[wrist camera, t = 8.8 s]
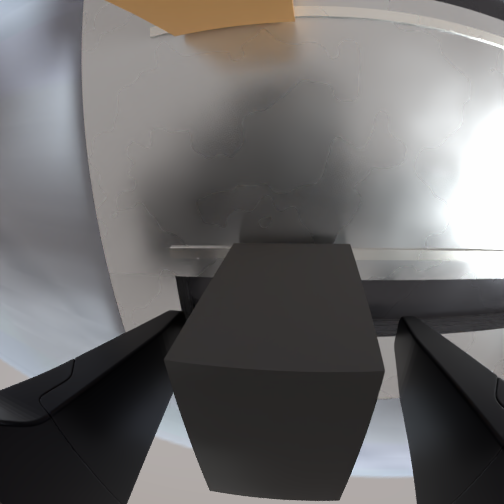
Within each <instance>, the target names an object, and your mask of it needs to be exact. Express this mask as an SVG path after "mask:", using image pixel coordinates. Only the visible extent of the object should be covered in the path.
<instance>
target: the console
mask: <svg viewBox="0 0 504 504" xmlns="http://www.w3.org/2000/svg"><path fill="white" fill-rule="evenodd" d="M293 5H294V15H295V22H277V23H262V24H251V25H241V26H233V27H225V28H218V29H212V30H206V31H200V32H194V33H189V34H184V35H179V36H173V35H172V34H170V33H168V32H166V31H164V30H163V29H161V28H159V27H157V26H155V25H153V24H152V23H150V22H148V21H146V20H144V19H142V18H140V17H138V16H136V15H134V14H132V13H130V12H128V11H126V10H124V9H122V8H120V7H118V6H116V5H114V4H112V3H109V2H107V1H105V0H84V3H83V19H82V56H81V59H82V97H83V114H84V127H85V137H86V147H87V156H88V164H89V172H90V179H91V186H92V192H93V198H94V204H95V210H96V216H97V221H98V226H99V231H100V236H101V241H102V246H103V250H104V255H105V259H106V263H107V267H108V272H109V276H110V280H111V284H112V287H113V291H114V295H115V299H116V302H117V306H118V309H119V313H120V316H121V319H122V323H123V326H124V329H125V333H126V332H128V331H130V330H132V329H134V328H136V327H138V326H139V325H141V324H143V323H145V322H147V321H149V320H151V319H153V318H155V317H157V316H159V315H161V314H163V313H165V312H167V311H169V310H177V311H182V312H184V314H185V317H186V321H187V320H188V318H189V316H190V314H191V313H192V311H193V309H194V308H195V306H196V304H197V303H198V301H199V299H200V298H201V296H202V294H203V293H204V291H205V289H206V288H207V286H208V285H209V283H210V281H211V280H212V278H213V276H214V275H215V273H216V271H217V270H218V268H219V266H220V265H221V263H222V261H223V260H224V258H225V257H226V255H227V253H228V252H229V250H230V248H231V247H232V245H233V243H305V244H350V245H351V248H352V251H353V255H354V258H355V261H356V264H357V267H358V271H359V274H360V277H361V280H362V284H363V287H364V291H365V294H366V298H367V301H368V305H369V308H370V312H371V316H372V319H373V323H374V327H375V331H376V335H377V339H378V343H379V347H380V351H381V355H382V359H383V363H384V368H385V374H384V377H383V381H382V385H381V388H380V391H379V395H378V398H377V399H392V398H400V396H399V389H398V379H397V369H396V360H395V352H394V341H395V336H396V332H397V327H398V323H399V320H400V318H401V317H402V316H415V317H417V318H418V319H420V320H421V321H423V322H424V323H425V324H427V325H428V326H430V327H431V328H433V329H434V330H435V331H437V332H438V333H440V334H441V335H442V336H444V337H445V338H447V339H448V340H449V341H451V342H452V343H454V344H455V345H456V346H458V347H459V348H461V349H462V350H463V351H465V352H466V353H468V354H469V355H470V356H472V357H473V358H474V359H476V360H477V361H478V362H480V363H481V364H483V365H484V366H485V367H487V368H488V369H489V370H491V371H492V372H493V373H495V374H496V375H497V376H498V377H500V378H501V379H503V380H504V0H293Z"/></svg>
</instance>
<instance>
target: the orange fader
mask: <svg viewBox="0 0 504 504" xmlns="http://www.w3.org/2000/svg"><path fill="white" fill-rule="evenodd" d="M105 1H107V2H109V3H112V4H114V5H116V6H118V7H120V8H122V9H124V10H126V11H128V12H130V13H132V14H134V15H136V16H138V17H140V18H142V19H144V20H146V21H148V22H150V23H152V24H153V25H155V26H157V27H159V28H161V29H163V30H164V31H166V32H168V33H170V34H172V35H173V36H179V35H184V34H189V33H194V32H200V31H206V30H212V29H218V28H225V27H233V26H241V25H251V24H262V23H277V22H295V15H294V5H293V0H105Z"/></svg>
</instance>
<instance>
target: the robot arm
mask: <svg viewBox="0 0 504 504" xmlns="http://www.w3.org/2000/svg"><path fill="white" fill-rule="evenodd" d="M185 323H186V317H185V314H184V312H182V311H177V310H169V311H167V312H165V313H163V314H161V315H159V316H157V317H155V318H153V319H151V320H149V321H147V322H145V323H143V324H141V325H139V326H138V327H136V328H134V329H132V330H130V331H128V332H126V333H124V334H122V335H120V336H118V337H116V338H114V339H112V340H110V341H108V342H106V343H104V344H102V345H100V346H98V347H96V348H94V349H92V350H90V351H88V352H86V353H84V354H82V355H80V356H78V357H76V358H75V359H72V360H70V361H68V362H66V363H64V364H62V365H60V366H58V367H56V368H54V369H51V370H49V371H47V372H45V373H42V374H40V375H38V376H35V377H33V378H30V379H28V380H25V381H23V382H20V383H18V384H15V385H13V386H10V387H8V388H5V389H2V390H0V504H127V502H128V500H129V497H130V495H131V492H132V490H133V487H134V485H135V482H136V480H137V478H138V475H139V473H140V470H141V468H142V465H143V463H144V461H145V458H146V456H147V453H148V451H149V449H150V446H151V444H152V441H153V439H154V437H155V434H156V432H157V429H158V427H159V425H160V422H161V420H162V417H163V415H164V413H165V410H166V408H167V406H168V403H169V401H170V399H171V396H172V394H173V389H172V386H171V382H170V379H169V376H168V372H167V369H166V366H165V362H164V358H165V357H166V355H167V353H168V352H169V350H170V348H171V347H172V345H173V343H174V341H175V340H176V338H177V336H178V335H179V333H180V331H181V330H182V328H183V326H184V325H185ZM394 352H395V360H396V369H397V379H398V389H399V396H400V402H401V407H402V412H403V416H404V422H405V427H406V432H407V438H408V443H409V449H410V455H411V462H412V469H413V476H414V483H415V490H416V499H417V504H504V380H503V379H501V378H500V377H498V376H497V375H496V374H495V373H493V372H492V371H491V370H489V369H488V368H487V367H485V366H484V365H483V364H481V363H480V362H478V361H477V360H476V359H474V358H473V357H472V356H470V355H469V354H468V353H466V352H465V351H463V350H462V349H461V348H459V347H458V346H456V345H455V344H454V343H452V342H451V341H449V340H448V339H447V338H445V337H444V336H442V335H441V334H440V333H438V332H437V331H435V330H434V329H433V328H431V327H430V326H428V325H427V324H425V323H424V322H423V321H421V320H420V319H418V318H417V317H415V316H402V317H401V318H400V320H399V323H398V327H397V332H396V336H395V341H394Z"/></svg>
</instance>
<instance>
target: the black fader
mask: <svg viewBox="0 0 504 504" xmlns="http://www.w3.org/2000/svg"><path fill="white" fill-rule="evenodd" d="M164 362H165V366H166V369H167V372H168V376H169V379H170V382H171V386H172V389H173V392H174V395H175V398H176V401H177V404H178V407H179V410H180V413H181V416H182V419H183V422H184V425H185V428H186V431H187V433H188V436H189V439H190V442H191V444H192V447H193V450H194V452H195V455H196V458H197V460H198V463H199V465H200V468H201V470H202V473H203V475H204V478H205V480H206V482H207V485H208V487H209V490H210V491H215V492H221V493H227V494H234V495H241V496H249V497H259V498H269V499H283V500H306V501H307V500H308V501H333V500H335V501H336V500H340V497H341V495H342V493H343V491H344V489H345V486H346V484H347V482H348V479H349V477H350V475H351V472H352V470H353V467H354V465H355V462H356V460H357V457H358V454H359V452H360V449H361V446H362V444H363V441H364V438H365V435H366V432H367V429H368V426H369V423H370V420H371V417H372V414H373V411H374V408H375V405H376V402H377V398H378V395H379V391H380V388H381V385H382V381H383V377H384V374H385V368H384V363H383V359H382V355H381V351H380V347H379V343H378V339H377V335H376V331H375V327H374V323H373V319H372V316H371V312H370V308H369V305H368V301H367V298H366V294H365V291H364V287H363V284H362V280H361V277H360V274H359V271H358V267H357V264H356V261H355V258H354V255H353V251H352V248H351V245H350V244H305V243H233V245H232V247H231V248H230V250H229V252H228V253H227V255H226V257H225V258H224V260H223V261H222V263H221V265H220V266H219V268H218V270H217V271H216V273H215V275H214V276H213V278H212V280H211V281H210V283H209V285H208V286H207V288H206V289H205V291H204V293H203V294H202V296H201V298H200V299H199V301H198V303H197V304H196V306H195V308H194V309H193V311H192V313H191V314H190V316H189V318H188V320H187V321H186V323H185V325H184V326H183V328H182V330H181V331H180V333H179V335H178V336H177V338H176V340H175V341H174V343H173V345H172V347H171V348H170V350H169V352H168V353H167V355H166V357H165V358H164Z"/></svg>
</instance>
